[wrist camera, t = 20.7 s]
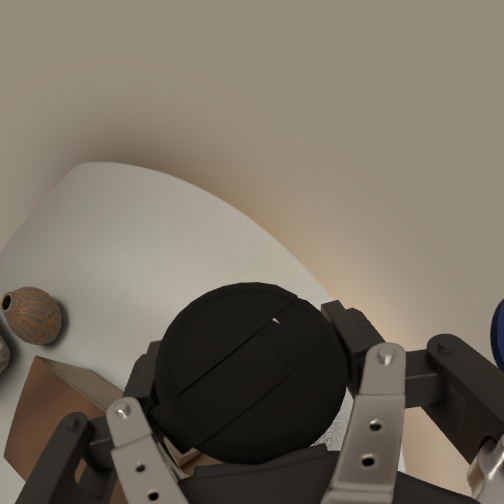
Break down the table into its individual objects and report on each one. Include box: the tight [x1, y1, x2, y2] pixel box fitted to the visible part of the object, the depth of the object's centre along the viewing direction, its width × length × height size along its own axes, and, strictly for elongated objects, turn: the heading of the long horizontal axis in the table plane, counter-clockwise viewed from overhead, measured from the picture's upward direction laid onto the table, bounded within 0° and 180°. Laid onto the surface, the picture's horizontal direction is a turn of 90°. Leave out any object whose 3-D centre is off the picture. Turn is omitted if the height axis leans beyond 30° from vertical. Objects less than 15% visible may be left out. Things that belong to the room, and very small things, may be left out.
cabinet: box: [4, 356, 203, 504], centre depth 21 cm, size 16×13×10 cm
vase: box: [0, 287, 62, 345], centre depth 28 cm, size 7×7×9 cm
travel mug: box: [150, 282, 348, 465], centre depth 17 cm, size 6×7×20 cm
